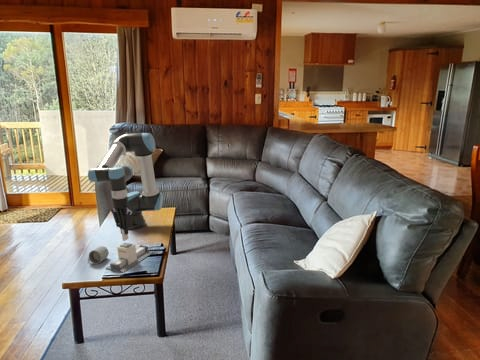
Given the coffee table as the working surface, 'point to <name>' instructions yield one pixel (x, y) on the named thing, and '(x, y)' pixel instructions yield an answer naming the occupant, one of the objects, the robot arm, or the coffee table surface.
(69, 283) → the coffee table surface
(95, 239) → the coffee table surface
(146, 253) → the rail base
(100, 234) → the coffee table surface
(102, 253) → the ceramic mug
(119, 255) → the module
